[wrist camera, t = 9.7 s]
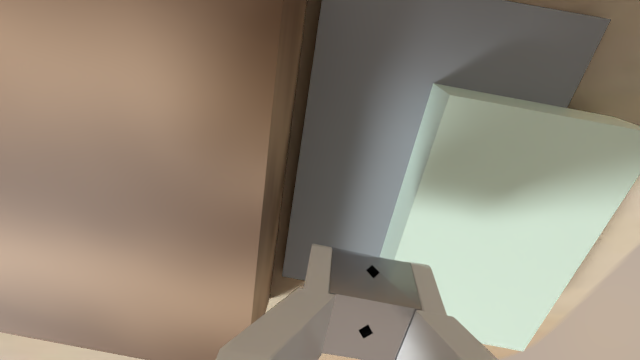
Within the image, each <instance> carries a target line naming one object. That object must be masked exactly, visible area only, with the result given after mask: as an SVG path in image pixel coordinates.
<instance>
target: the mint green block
mask: <svg viewBox="0 0 640 360" xmlns="http://www.w3.org/2000/svg"><path fill="white" fill-rule="evenodd" d="M639 175H640V126H638V125H636V124H633V123H630V122H627V121H624V120H621V119H618V118H616V117H612V116H607V115H602V114H596V113H591V112H585V111H580V110H575V109H569V108H564V107H559V106H553V105H548V104H542V103H537V102H532V101H526V100H521V99H515V98H510V97H505V96H499V95H494V94H489V93H483V92H478V91H472V90H467V89H462V88H456V87H451V86H445V85H440V84H435V83H433V86H432V89H431V92H430V96H429V99H428V102H427V105H426V108H425V112H424V115H423V118H422V121H421V125H420V128H419V131H418V134H417V137H416V141H415V144H414V147H413V150H412V154H411V157H410V160H409V163H408V167H407V170H406V173H405V176H404V179H403V183H402V186H401V189H400V192H399V196H398V199H397V202H396V205H395V209H394V212H393V215H392V218H391V221H390V225H389V228H388V231H387V234H386V238H385V241H384V244H383V247H382V250H381V254H380V257H381V258H387V259H392V260H398V261H403V262H413V263H420V264H426V265H429V266H430V267H431V269H432V272H433V275H434V278H435V281H436V284H437V287H438V290H439V293H440V296H441V298H442V301H443V304H444V307H445V310H446V313H447V316H452V317H454V318H455V319H456V320H457V321H458V322H460V323H461V324H462V325H463V326H464V327H465V328H466V329H467V330H468V331H469V332H470V333H471V334H472V335H473V336H474V337H475V338H476V339H477V340H478V341H479V342H480V343H481V344H487V345H492V346H497V347H502V348H508V349H513V350H518V351H524V349H525V348H526V346H527V345H528V343H529V342H530V340H531V339H532V337H533V336H534V334H535V333H536V331H537V330H538V328H539V327H540V325H541V324H542V322H543V321H544V319H545V318H546V316H547V315H548V313H549V312H550V310H551V308H552V307H553V305H554V304H555V302H556V301H557V299H558V298H559V296H560V295H561V293H562V292H563V290H564V289H565V287H566V286H567V284H568V283H569V281H570V280H571V278H572V277H573V275H574V274H575V272H576V270H577V269H578V267H579V266H580V264H581V263H582V261H583V260H584V258H585V257H586V255H587V254H588V252H589V251H590V249H591V248H592V246H593V245H594V243H595V242H596V240H597V239H598V237H599V236H600V234H601V233H602V231H603V229H604V228H605V226H606V225H607V223H608V222H609V220H610V219H611V217H612V216H613V214H614V213H615V211H616V210H617V208H618V207H619V205H620V204H621V202H622V201H623V199H624V198H625V196H626V195H627V193H628V192H629V190H630V188H631V187H632V185H633V184H634V182H635V181H636V179H637V178H638V176H639Z"/></svg>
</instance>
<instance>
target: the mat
mask: <svg viewBox="0 0 640 360" xmlns="http://www.w3.org/2000/svg"><path fill="white" fill-rule="evenodd" d="M610 21H611V19H606V18H600V17H595V16H589V15H583V14H578V13H572V12H567V11H561V10H556V9H550V8H544V7H539V6H533V5H528V4H522V3H516V2H511V1H505V0H322V3H321V10H320V16H319V23H318V30H317V37H316V44H315V51H314V58H313V65H312V72H311V79H310V86H309V93H308V100H307V106H306V113H305V120H304V127H303V134H302V141H301V148H300V155H299V162H298V169H297V176H296V183H295V190H294V197H293V203H292V210H291V217H290V224H289V231H288V238H287V245H286V252H285V259H284V266H283V273H282V276H283V277H289V278H294V279H299V280H305V279H306V273H307V268H308V263H309V257H310V252H311V247H312V244H318V245H323V246H328V247H331V248H332V247H333V248H338V249H343V250H348V251H353V252H357V253H362V254H367V255H371V256H376V257H380V254H381V250H382V247H383V244H384V241H385V238H386V234H387V231H388V228H389V225H390V221H391V218H392V215H393V212H394V209H395V205H396V202H397V199H398V196H399V192H400V189H401V186H402V183H403V179H404V176H405V173H406V170H407V167H408V163H409V160H410V157H411V154H412V150H413V147H414V144H415V141H416V137H417V134H418V131H419V128H420V125H421V121H422V118H423V115H424V112H425V108H426V105H427V102H428V99H429V96H430V92H431V89H432V86H433V83H435V84H440V85H445V86H451V87H456V88H462V89H467V90H472V91H478V92H483V93H489V94H494V95H499V96H505V97H510V98H515V99H521V100H526V101H532V102H537V103H542V104H548V105H553V106H559V107H564V108H567V107H568V105H569V103H570V101H571V99H572V97H573V95H574V93H575V91H576V89H577V87H578V85H579V83H580V81H581V79H582V77H583V75H584V73H585V71H586V69H587V67H588V65H589V63H590V61H591V59H592V57H593V55H594V53H595V51H596V49H597V47H598V45H599V43H600V41H601V39H602V37H603V35H604V33H605V31H606V29H607V27H608V25H609V23H610Z"/></svg>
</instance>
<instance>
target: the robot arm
mask: <svg viewBox="0 0 640 360" xmlns="http://www.w3.org/2000/svg"><path fill="white" fill-rule="evenodd" d="M321 353H325V354H331V355H337V356H344V357H350V358H356V359H361V360H498V359H497V358H496V357H495V356H494V355H493V354H492V353H491V352H490V351H489V350H488V349H487V348H486V347H485V346H483V345H482V344H481V343H480V342H479V341H478V340H477V339H476V338H475V337H474V336H473V335H472V334H471V333H470V332H469V331H468V330H467V329H466V328H465V327H464V326H463V325H462V324H461V323H460V322H458V321H457V320H456V319H455V318H454V317H452V316H447V313H446V310H445V307H444V304H443V301H442V298H441V296H440V293H439V290H438V287H437V284H436V281H435V278H434V275H433V272H432V269H431V267H430V266H429V265H426V264H420V263H413V262H403V261H398V260H392V259H387V258H381V257H376V256H371V255H367V254H362V253H357V252H353V251H348V250H343V249H338V248H333V247H332V248H331V247H328V246H323V245H318V244H312V247H311V252H310V257H309V263H308V268H307V273H306V279H305V284H304V289H302V288H297V289H296V290H294V291H293V292H292V293H291V294H289V295H288V296H287V297H285V298H284V299H283V300H282V301H280V302H279V303H278V304H277V305H275V306H274V307H273V308H271V309H270V310H269V311H268V312H266V313H265V314H264V315H263V316H261V317H260V318H259V319H257V320H256V321H255V322H254V323H252V324H251V325H250V326H248V327H247V328H246V329H245V330H243V331H242V332H241V333H240V334H238V335H237V336H236V337H234V338H233V339H232V340H231V341H229V342H228V343H227V344H226V345H224V346H223V347H222V348H220V350H219V353H218V355H217V358H216V360H318V359H319V357H320V356H321Z"/></svg>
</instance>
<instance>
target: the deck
mask: <svg viewBox="0 0 640 360" xmlns="http://www.w3.org/2000/svg"><path fill="white" fill-rule="evenodd" d="M306 5H307V0H0V332H2V333H7V334H13V335H18V336H23V337H29V338H34V339H39V340H44V341H50V342H55V343H60V344H66V345H71V346H76V347H81V348H87V349H92V350H97V351H103V352H108V353H113V354H118V355H124V356H129V357H134V358H140V359H145V360H216V358H217V355H218V353H219V350H220V348H222V347H223V346H224V345H226V344H227V343H228V342H229V341H231V340H232V339H233V338H234V337H236V336H237V335H238V334H240V333H241V332H242V331H243V330H245V329H246V328H247V327H248V326H250V325H251V324H252V323H254V322H255V321H256V320H257V319H259V318H260V317H261V316H263V315H264V314H265V312H266V308H267V305H268V302H269V297H270V289H271V281H272V273H273V265H274V257H275V249H276V241H277V234H278V226H279V218H280V210H281V202H282V194H283V186H284V178H285V171H286V163H287V155H288V147H289V139H290V131H291V123H292V115H293V108H294V100H295V92H296V84H297V76H298V68H299V60H300V52H301V45H302V37H303V29H304V21H305V13H306Z"/></svg>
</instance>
